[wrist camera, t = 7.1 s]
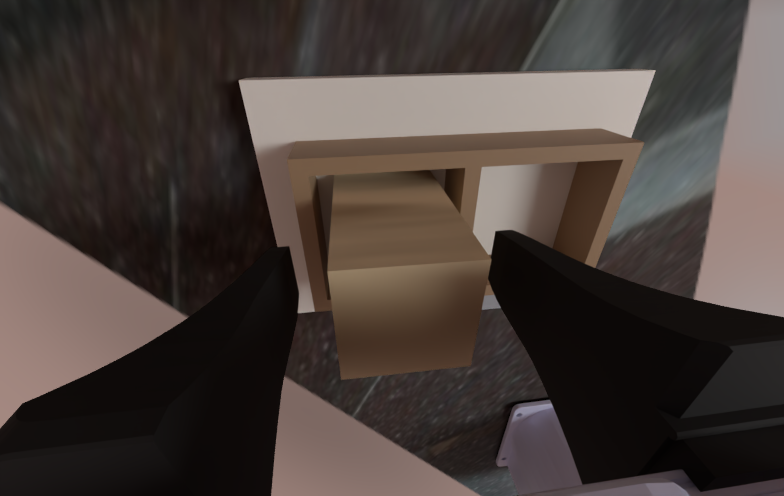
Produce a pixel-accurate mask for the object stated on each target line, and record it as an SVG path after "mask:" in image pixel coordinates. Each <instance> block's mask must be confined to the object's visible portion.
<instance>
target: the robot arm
mask: <svg viewBox="0 0 784 496" xmlns="http://www.w3.org/2000/svg"><path fill="white" fill-rule="evenodd" d="M491 259H492V260H491V265H490V270H489V275H488V280H489V283H490V286H491V288H492V291H493V293H494V295H495V298H496V300H497V302H498V303H499V305H500V307H501V309H502V310H503V312H504V314H505V315H506V317H507V319H508V320H509V322H510V324H511V325H512V327H513V329H514V330H515V332H516V334H517V335H518V337H519V339H520V340H521V342H522V344H523V345H524V347H525V349H526V350H527V352H528V354H529V356H530V358H531V360H532V361H533V363H534V366H535V368H536V370H537V372H538V374H539V376H540V379H541V381H542V383H543V385H544V387H545V390H546V392H547V394H548V397H549V399H550V400H544V401H536V402H528V403H521V404H516V405H515V406H513V408H512V411H511V414H510V417H509V421H508V424H507V427H506V430H505V433H504V436H503V440H502V443H501V446H500V449H499V452H498V455H497V459H496V464H497V466H499V467H502V466H508V468H509V471H510V474H511V476H512V479H513V481H514V484H515V486H516V489H517V492H518V494H519V495H515V496H784V317H779V316H774V315H768V314H762V313H757V312H751V311H746V310H740V309H735V308H729V307H724V306H720V305H716V304H711V303H707V302H702V301H698V300H694V299H690V298H686V297H682V296H678V295H674V294H670V293H667V292H664V291H660V290H657V289H653V288H650V287H646V286H643V285H640V284H637V283H634V282H631V281H628V280H625V279H623V278H620V277H617V276H614V275H612V274H609V273H606V272H604V271H601V270H599V269H596V268H594V267H592V266H589V265H587V264H585V263H582V262H580V261H578V260H576V259H573V258H571V257H569V256H567V255H565V254H563V253H561V252H559V251H557V250H554V249H552V248H550V247H548V246H546V245H544V244H542V243H540V242H538V241H536V240H534V239H532V238H530V237H528V236H526V235H524V234H521V233H519V232H517V231H514V230H502V231H495V236H494V242H493V247H492V253H491ZM298 304H299V290H298V285H297V280H296V276H295V271H294V266H293V261H292V257H291V252H290V247H289V246H285V247H271V248H270V249H268V250H267V251H266V252H265V253H264V254H263V255H262V256H261V257H260V258H259V259H258V260H257V261H256V262H255V263H254V264H253V265H252V266H250V267H249V268H248V269H247V270H246V271H245V272H244V273H243V274H242V275H241V276H240V277H239V278H238V279H237V280H235V281H234V282H233V283H232V284H231V285H230V286H228V287H227V288H226V289H225V290H224V291H222V292H221V293H220V294H219V295H218V296H217V297H215V298H214V299H213V300H212V301H210V302H209V303H208V304H207V305H205V306H204V307H203V308H201V309H200V310H199V311H197V312H196V313H194V314H193V315H191V316H190V317H188V318H187V319H186V320H184V321H183V322H181V323H180V324H178V325H177V326H175V327H173V328H172V329H170V330H168V331H167V332H165V333H163V334H162V335H160V336H159V337H157V338H155V339H154V340H152V341H150V342H149V343H147V344H145V345H144V346H142V347H140V348H139V349H136V350H135V351H133V352H131V353H129V354H127V355H125V356H123V357H122V358H120V359H118V360H116V361H114V362H112V363H110V364H108V365H106V366H104V367H102V368H100V369H98V370H96V371H94V372H92V373H90V374H88V375H86V376H84V377H81V378H79V379H77V380H75V381H72V382H70V383H68V384H66V385H63V386H61V387H59V388H57V389H55V390H53V391H50V392H48V393H46V394H44V395H41V396H39V397H37V398H35V399H32V400H30V401H27V402H25V403H23V404H22V405H21V406H20V407H19V408H18V409H17V410H16V412H15V413H14V414H13V415H12V416H11V417H10V418H9V419H8V420H7V422H6V423H5V424H4V425H3V426H2V427H1V428H0V496H271V489H272V477H273V466H274V454H275V453H274V452H275V444H276V434H277V425H278V416H279V407H280V399H281V391H282V385H283V380H284V375H285V371H286V366H287V362H288V357H289V353H290V349H291V344H292V340H293V336H294V331H295V327H296V322H297V315H298Z"/></svg>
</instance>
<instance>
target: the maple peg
mask: <svg viewBox="0 0 784 496" xmlns="http://www.w3.org/2000/svg"><path fill="white" fill-rule="evenodd" d="M491 260H492V259H491V258H490V257H489V255H488V254H487V252H486V251H485V249H484V248H483V246H482V245H481V244H480V242H479V241H478V239H477V238H476V236H475V235H474V233H473V232H472V231H471V229H470V228H469V226H468V225H467V223H466V222H465V220H464V219H463V217H462V216H461V215H460V213H459V212H458V210H457V209H456V207H455V206H454V204H453V203H452V202H451V200H450V199H449V197H448V196H447V194H446V193H445V191H444V190H443V189H442V187H441V186H440V184H439V183H438V181H437V180H436V178H435V177H434V176H433V174H432V173H431V171H430V170H416V171H397V172H379V173H360V174H341V175H334V185H333V199H332V213H331V228H330V242H329V256H328V270H327V272H328V280H329V288H330V296H331V303H332V311H333V319H334V327H335V334H336V342H337V350H338V358H339V365H340V373H341V380H344V379H354V378H363V377H372V376H381V375H390V374H400V373H409V372H418V371H427V370H436V369H446V368H455V367H464V366H471V361H472V356H473V351H474V346H475V341H476V336H477V331H478V326H479V321H480V316H481V311H482V305H483V300H484V295H485V290H486V285H487V280H488V275H489V270H490V265H491Z"/></svg>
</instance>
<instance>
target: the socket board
mask: <svg viewBox="0 0 784 496" xmlns="http://www.w3.org/2000/svg"><path fill="white" fill-rule="evenodd" d="M655 71H656V70H645V69H609V70H566V71H523V72H480V73H437V74H395V75H352V76H309V77H266V78H244V79H241V80H239V85H240V89H241V93H242V97H243V102H244V106H245V110H246V114H247V119H248V123H249V127H250V132H251V136H252V140H253V144H254V149H255V153H256V157H257V161H258V166H259V170H260V174H261V179H262V183H263V187H264V191H265V196H266V200H267V204H268V208H269V213H270V217H271V221H272V225H273V230H274V234H275V238H276V243H277V247H285V246H289V247H290V252H291V257H292V261H293V266H294V271H295V276H296V280H297V285H298V290H299V304H298V313H305V312H318V311H329V310H332V303H331V296H330V288H329V280H328V272H327V270H328V256H329V242H330V228H331V213H332V199H333V185H334V175H341V174H360V173H379V172H397V171H416V170H430V171H431V173H432V174H433V176H434V177H435V178H436V180H437V181H438V183H439V184H440V186H441V187H442V189H443V190H444V191H445V193H446V194H447V196H448V197H449V199H450V200H451V202H452V203H453V204H454V206H455V207H456V209H457V210H458V212H459V213H460V215H461V216H462V217H463V219H464V220H465V222H466V223H467V225H468V226H469V228H470V229H471V231H472V232H473V233H474V235H475V236H476V238H477V239H478V241H479V242H480V244H481V245H482V246H483V248H484V249H485V251H486V252H487V254H488V255H489V257H490V258H491V253H492V247H493V242H494V236H495V231H502V230H514V231H517V232H519V233H521V234H524V235H526V236H528V237H530V238H532V239H534V240H536V241H538V242H540V243H542V244H544V245H546V246H548V247H550V248H552V249H554V250H557V251H559V252H561V253H563V254H565V255H567V256H569V257H571V258H573V259H576V260H578V261H580V262H582V263H585V264H587V265H589V266H592V267H594V268H595V267H596V264H597V262H598V259H599V257H600V254H601V252H602V249H603V247H604V244H605V241H606V239H607V236H608V234H609V231H610V229H611V226H612V224H613V221H614V219H615V216H616V213H617V211H618V208H619V206H620V203H621V201H622V198H623V196H624V193H625V191H626V188H627V185H628V183H629V180H630V178H631V175H632V173H633V170H634V168H635V165H636V162H637V160H638V157H639V155H640V152H641V150H642V147H643V145H644V142H642V141H639V140H636V139H633V138H631V136H632V134H633V131H634V128H635V125H636V123H637V120H638V117H639V115H640V112H641V109H642V106H643V104H644V101H645V98H646V96H647V93H648V90H649V87H650V85H651V82H652V79H653V77H654V74H655ZM494 308H501V307H500V305H499V303H498V302H497V300H496V298H495V295H494V293H493V291H492V288H491V286H490V283H489V280H487V285H486V290H485V295H484V300H483V305H482V310H484V309H494Z"/></svg>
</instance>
